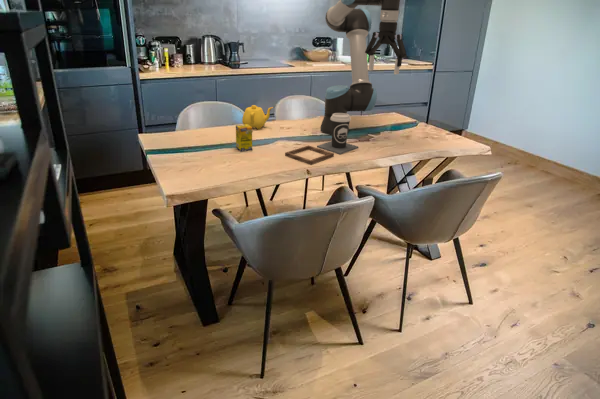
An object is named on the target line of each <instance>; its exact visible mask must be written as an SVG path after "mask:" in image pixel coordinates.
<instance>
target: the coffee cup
mask: <svg viewBox="0 0 600 399" xmlns="http://www.w3.org/2000/svg"><path fill="white" fill-rule="evenodd" d="M330 120H331V128H332V134H331V141H332V147H334V148H345V147H346V143H347V141H348V135H349V132H348V129H349V130H350V123H351V121H352V118H351V116H350V114H348V113H347V114H345V113H334V114H332V116H331V118H330Z"/></svg>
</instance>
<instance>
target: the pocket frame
mask: <svg viewBox="0 0 600 399" xmlns="http://www.w3.org/2000/svg"><path fill="white" fill-rule="evenodd" d="M305 151H312V152H315V153H317V154H321V155H322V156H318V157H316V158H313V159H308V158H307V157H306V158H305V157H302V156H300V155H297V154H300V153H303V152H305ZM284 155H285V157H288V158H291V159H293V160H295V161H299V162H301V163H304V164H307V165H310V166H312V165H314V164H317V163H320V162H322V161H325V160H328V159H331V158H334V156H335V153H333V152H330V151H327V150H324V149H321V148H317V147H315V146H312V145H306V146H302V147H299V148H295V149H293V150H290V151H287V152H286V151H285V152H284Z"/></svg>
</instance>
